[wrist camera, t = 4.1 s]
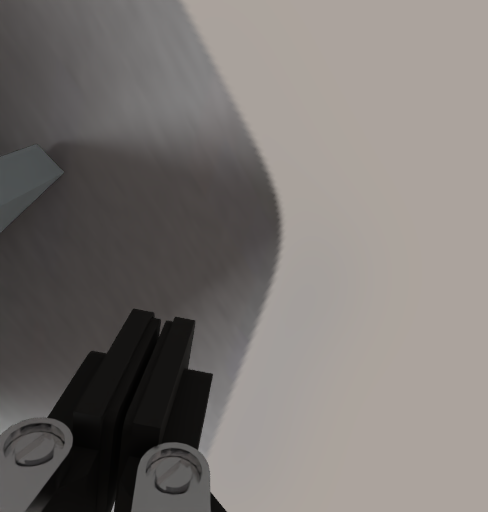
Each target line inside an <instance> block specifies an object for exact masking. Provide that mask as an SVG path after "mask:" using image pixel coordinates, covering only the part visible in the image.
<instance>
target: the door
mask: <svg viewBox="0 0 488 512" xmlns="http://www.w3.org/2000/svg"><path fill="white" fill-rule="evenodd" d="M63 173H64V172H63V171H62V170H61V169H60V168H59V167H58V165H57V164H56V163H55V162H54V161H53V160H52V159H51V158H50V157H49V156H48V155H47V154H46V153H45V152H44V151H43V150H42V149H41V148H40V147H39V145H38V144H35V145H32V146H29V147H26V148H24V149H21V150H18V151H15V152H12V153H9V154H6V155H3V156H1V157H0V233H1V232H2V231H3V230H4V229H5V228H6V227H7V226H8V225H9V224H10V223H11V222H12V221H13V220H14V219H15V218H17V217H18V216H19V215H20V214H21V213H22V212H23V211H24V210H25V209H26V208H27V207H28V206H29V205H30V204H31V203H32V202H33V201H35V200H36V199H37V198H38V197H39V196H40V195H41V194H42V193H43V192H44V191H45V190H46V189H47V188H48V187H49V186H50V185H51V184H53V183H54V182H55V181H56V180H57V179H58V178H59V177H60V176H61V175H62V174H63Z"/></svg>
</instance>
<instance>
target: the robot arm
mask: <svg viewBox="0 0 488 512" xmlns="http://www.w3.org/2000/svg"><path fill="white" fill-rule="evenodd" d="M160 325H161V320H160V319H156V318H154V312H148V311H143V310H138V309H133V310H132V312H131V313H130V315H129V317H128V318H127V320H126V322H125V324H124V325H123V327H122V329H121V331H120V332H119V334H118V336H117V337H116V339H115V341H114V343H113V344H112V346H111V348H110V349H109V351H108V353H107V354H106V353H101V352H96V351H91V352H90V353H89V354H88V355H87V357H86V358H85V360H84V362H83V363H82V365H81V366H80V368H79V369H78V371H77V372H76V374H75V376H74V377H73V379H72V380H71V382H70V383H69V385H68V386H67V388H66V389H65V391H64V393H63V394H62V396H61V397H60V399H59V400H58V402H57V403H56V405H55V407H54V408H53V410H52V411H51V413H50V414H49V416H48V417H47V418H32V419H28V420H24V421H21V422H19V423H17V424H14V425H12V426H11V427H9V428H8V429H7V430H6V431H4V432H3V433H2V434H1V435H0V512H111V510H112V507H113V504H114V502H115V507H114V512H226V511H225V509H224V508H223V507H222V505H221V504H220V503H219V502H218V501H217V499H216V498H215V497H214V496H213V494H212V493H211V492H210V471H209V465H208V462H207V461H206V459H205V457H204V456H203V455H202V454H201V453H200V452H199V451H198V448H199V443H200V438H201V433H202V428H203V423H204V418H205V413H206V408H207V403H208V398H209V392H210V387H211V382H212V376H213V374H211V373H205V372H200V371H195V370H190V369H188V365H189V359H190V353H191V346H192V340H193V334H194V328H195V320H190V319H185V318H180V317H175V318H174V321H173V322H172V321H166V322H165V325H164V327H163V329H162V332H161V334H160V336H159V332H160Z"/></svg>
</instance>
